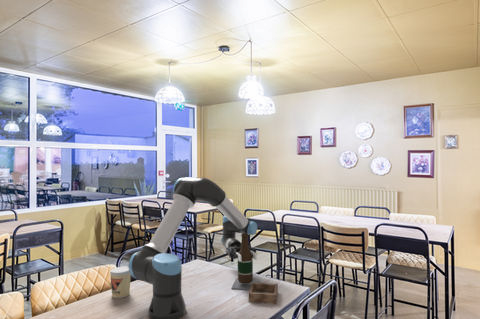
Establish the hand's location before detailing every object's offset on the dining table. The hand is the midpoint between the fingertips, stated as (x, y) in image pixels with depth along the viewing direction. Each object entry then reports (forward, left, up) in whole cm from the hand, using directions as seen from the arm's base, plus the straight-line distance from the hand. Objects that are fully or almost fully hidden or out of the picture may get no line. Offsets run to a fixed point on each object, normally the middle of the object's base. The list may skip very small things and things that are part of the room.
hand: (248, 257), depth 156 cm
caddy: (+8, -9, -15) cm, 19 cm away
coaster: (-2, +4, -15) cm, 16 cm away
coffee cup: (-59, -15, -15) cm, 63 cm away
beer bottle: (-2, +4, -13) cm, 14 cm away
